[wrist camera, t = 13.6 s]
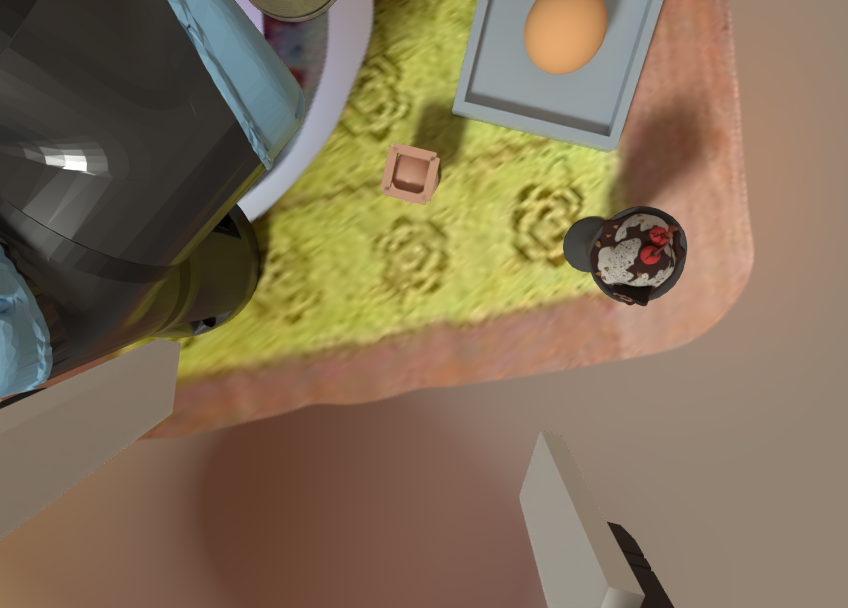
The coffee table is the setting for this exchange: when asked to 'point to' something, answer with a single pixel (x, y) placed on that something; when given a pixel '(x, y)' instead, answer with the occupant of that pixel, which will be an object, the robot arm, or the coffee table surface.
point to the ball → (564, 33)
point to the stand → (410, 174)
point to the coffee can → (292, 8)
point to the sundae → (629, 253)
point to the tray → (554, 75)
